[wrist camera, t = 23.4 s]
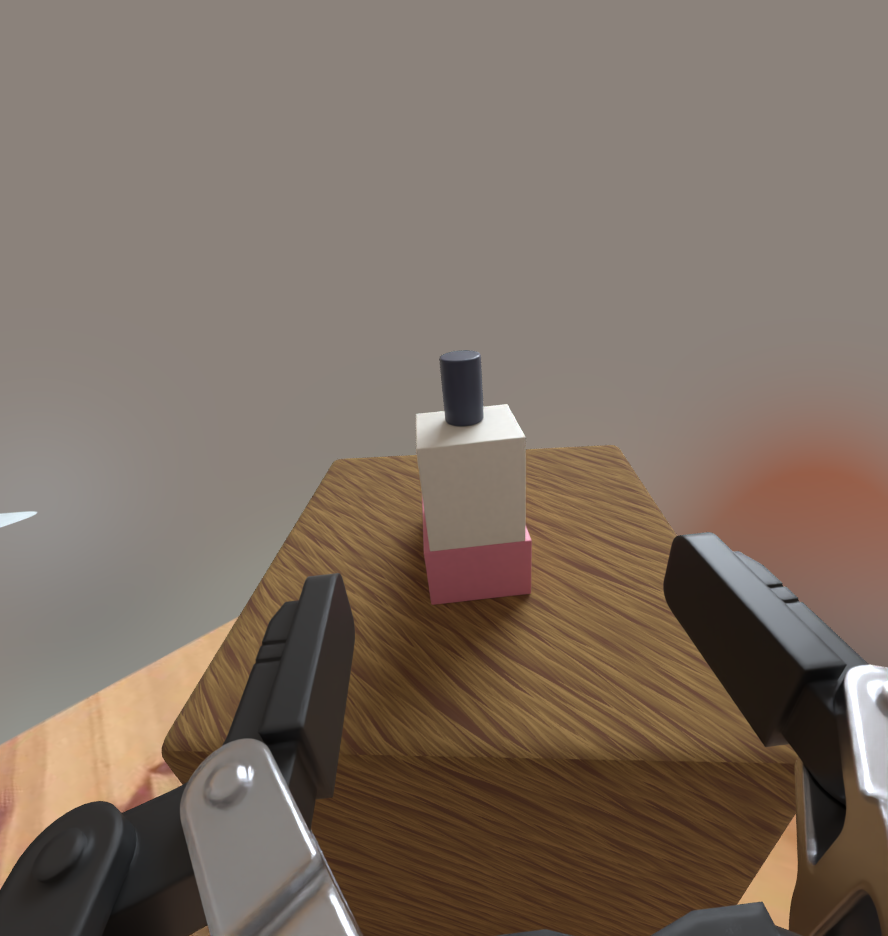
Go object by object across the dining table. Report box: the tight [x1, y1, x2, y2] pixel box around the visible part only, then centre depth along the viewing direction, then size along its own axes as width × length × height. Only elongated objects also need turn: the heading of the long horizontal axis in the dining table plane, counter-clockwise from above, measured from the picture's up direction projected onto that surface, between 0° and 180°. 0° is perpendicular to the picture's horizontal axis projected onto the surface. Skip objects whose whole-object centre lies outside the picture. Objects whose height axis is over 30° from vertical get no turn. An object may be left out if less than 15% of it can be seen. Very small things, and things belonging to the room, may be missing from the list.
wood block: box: [162, 445, 798, 936], centre depth 32 cm, size 25×25×25 cm
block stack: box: [416, 350, 532, 605], centre depth 23 cm, size 10×5×12 cm, turn 4°
